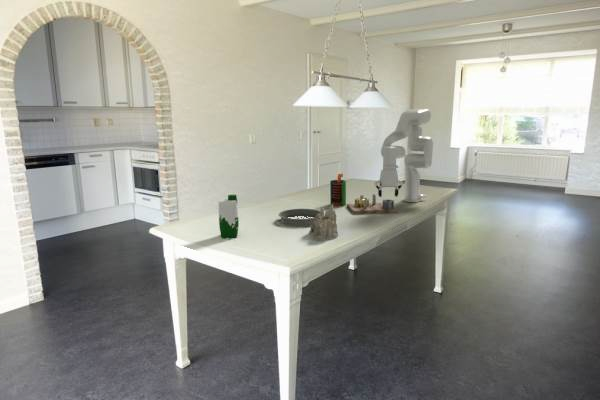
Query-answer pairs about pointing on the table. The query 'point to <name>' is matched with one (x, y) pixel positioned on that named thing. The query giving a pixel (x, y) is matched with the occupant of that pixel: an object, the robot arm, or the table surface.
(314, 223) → the grey rough lump
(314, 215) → the cake pan
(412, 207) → the table surface
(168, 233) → the table surface
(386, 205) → the steel gear
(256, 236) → the table surface
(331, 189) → the motor
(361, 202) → the brass gear
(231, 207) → the milk carton
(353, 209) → the board
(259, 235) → the table surface
